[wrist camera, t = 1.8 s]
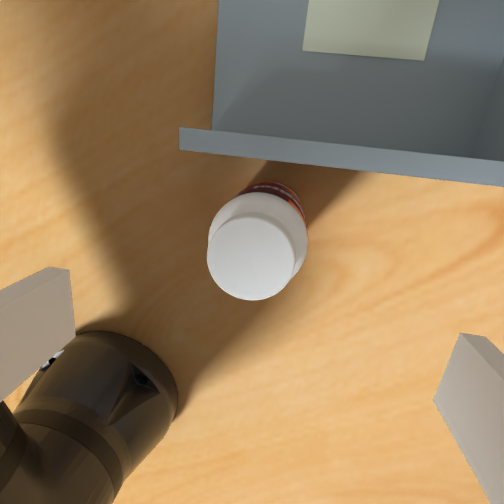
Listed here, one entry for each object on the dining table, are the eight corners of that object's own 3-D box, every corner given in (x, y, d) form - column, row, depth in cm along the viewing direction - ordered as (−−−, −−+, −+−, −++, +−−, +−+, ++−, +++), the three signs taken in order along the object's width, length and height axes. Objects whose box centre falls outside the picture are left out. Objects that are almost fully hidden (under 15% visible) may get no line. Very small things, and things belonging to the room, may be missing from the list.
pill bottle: (319, 207, 25) (337, 250, 15) (276, 263, 27) (266, 334, 17) (258, 164, 25) (232, 176, 14) (219, 224, 27) (172, 273, 17)
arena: (214, 148, 25) (178, 149, 17) (232, -159, 19) (189, -371, 11) (472, 177, 23) (561, 193, 15) (583, -151, 17) (824, -397, 9)
